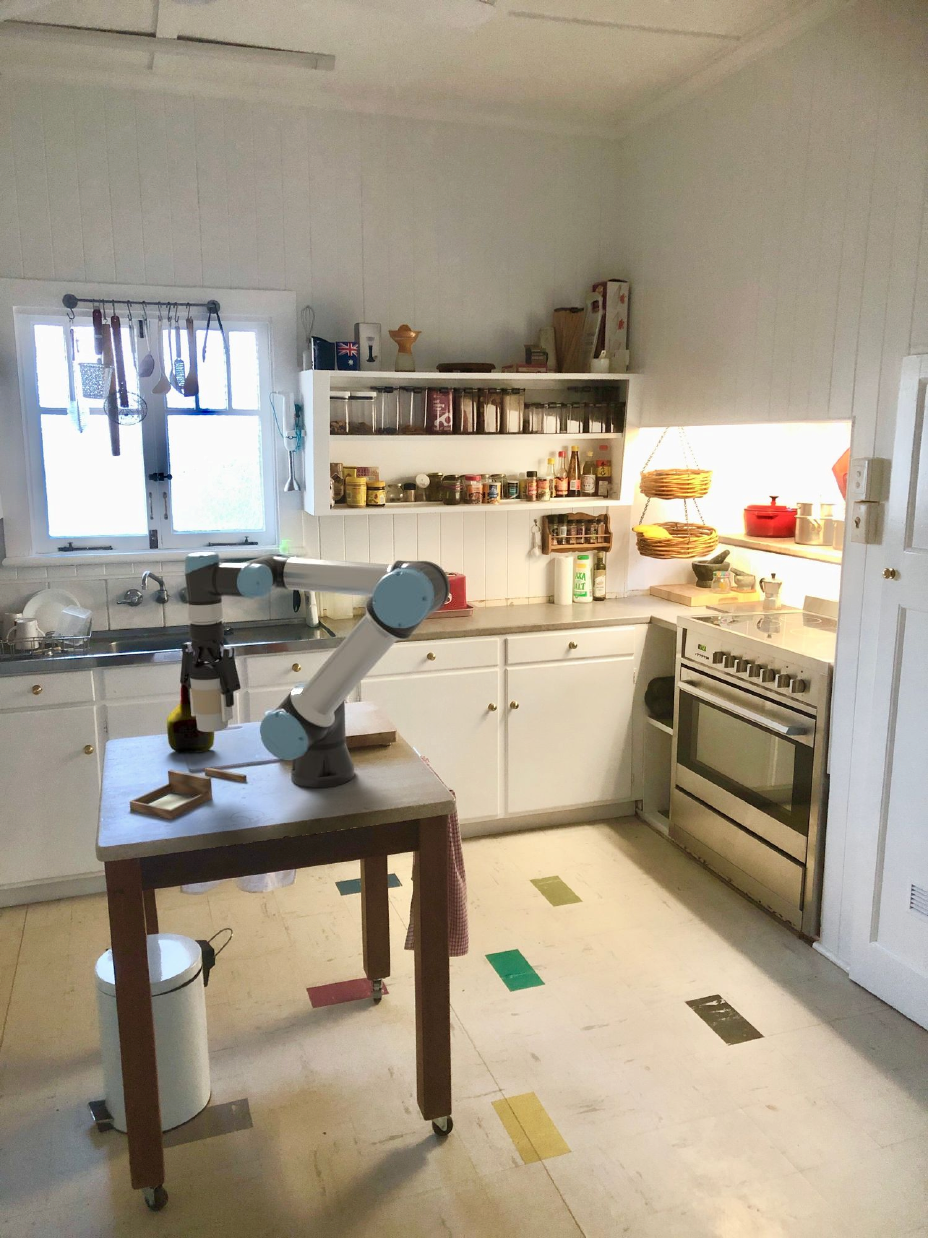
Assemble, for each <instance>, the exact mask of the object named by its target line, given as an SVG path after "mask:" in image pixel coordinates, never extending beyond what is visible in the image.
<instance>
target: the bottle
mask: <svg viewBox="0 0 928 1238" xmlns="http://www.w3.org/2000/svg"><path fill="white" fill-rule="evenodd" d="M180 684H181V683H180ZM166 729H167V730H166V731H167V732H166V733H167V740H168V742H167V743H168V746H169V747H170V749H171V750H173V751H174V752H176V753H203V752H206V751H209V750H211V749H212V747H213V746H214V743H215V742H214V741H215V731H214V732H203V731H199V730H198V728H197V721H196V716H191V701H189V698H188V688H187V687H186V685H184V684H183V685H182V684H181V685H180V701H179V703H178V705H177V706H176V707H175V708H174V709H173V710H172V711H171V712H170V713H169V714H168V716H167V719H166Z"/></svg>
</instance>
